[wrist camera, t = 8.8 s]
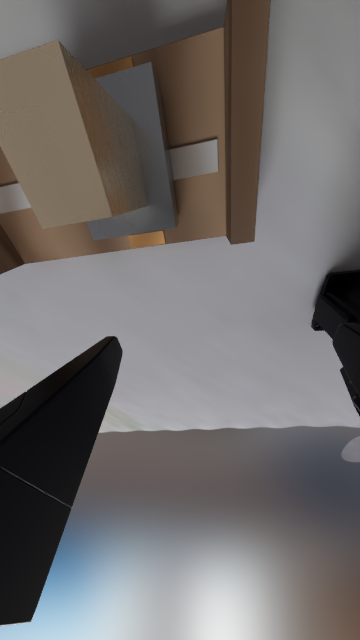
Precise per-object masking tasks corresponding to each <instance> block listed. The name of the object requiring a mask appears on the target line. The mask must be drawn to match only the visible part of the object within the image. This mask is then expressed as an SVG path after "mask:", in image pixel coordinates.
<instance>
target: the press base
mask: <svg viewBox="0 0 360 640" xmlns="http://www.w3.org/2000/svg"><path fill="white" fill-rule="evenodd" d="M270 3H271V0H228V1H227V8H226V14H225V21H224V27H222V28H219V29H215V30H212V31H209V32H206V33H203V34H199V35H196V36H193V37H190V38H186V39H183V40H180V41H177V42H174V43H170V44H167V45H164V46H161V47H158V48H154V49H151V50H148V51H145V52H141V53H138V54H135V55H132V56H129V57H125V58H122V59H119V60H116V61H113V62H109V63H106V64H103V65H100V66H96V67H93V68H90V69H87V71H88V72H89V73H90V74H91V75H92V77H93V78H94V79H95V78H99V77H102V76H105V75H109V74H112V73H115V72H119V71H122V70H125V69H129V68H132V67H135V66H139V65H142V64H145V63H149V62H151V63H152V65H153V68H154V70H155V73H156V76H157V78H158V81H159V83H160V87H161V94H162V102H163V109H164V116H165V124H166V131H167V138H168V146H169V153H170V160H171V168H172V175H173V182H174V190H175V197H176V204H177V212H178V219H179V224H178V225H177V227H176V228H173V229H166V230H160V231H153V232H147V233H140V234H133V235H127V236H120V237H114V238H107V239H101V240H93V238H92V235H91V232H90V230H89V227H88V225H87V222H80V223H74V224H68V225H62V226H57V227H51V228H45V229H42V227H41V225H40V223H39V221H38V219H37V217H36V215H35V213H34V211H33V209H32V207H31V205H30V203H29V202H28V200H27V198H26V196H25V194H24V192H23V190H22V188H21V186H20V184H19V182H18V180H17V178H16V176H15V174H14V172H13V170H12V168H11V166H10V164H9V162H8V160H7V158H6V156H5V154H4V153H3V151H2V149H1V147H0V274H2V273H4V272H7V271H9V270H12V269H14V268H16V267H19V266H21V265H23V264H27V263H34V262H42V261H49V260H56V259H63V258H70V257H77V256H85V255H92V254H99V253H106V252H113V251H120V250H127V249H135V248H142V247H149V246H156V245H163V244H170V243H178V242H185V241H192V240H199V239H206V238H213V237H220V236H226V237H227V238H228V240H229V242H230V244H231V245H232V244H239V243H247V242H254V238H255V223H256V209H257V194H258V179H259V165H260V150H261V135H262V121H263V106H264V91H265V77H266V62H267V47H268V33H269V18H270Z"/></svg>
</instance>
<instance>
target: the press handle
mask: <svg viewBox="0 0 360 640" xmlns="http://www.w3.org/2000/svg"><path fill="white" fill-rule="evenodd" d="M0 147H1V149H2V151H3V153H4V154H5V156H6V158H7V160H8V162H9V164H10V166H11V168H12V170H13V172H14V174H15V176H16V178H17V180H18V182H19V184H20V186H21V188H22V190H23V192H24V194H25V196H26V198H27V200H28V202H29V203H30V205H31V207H32V209H33V211H34V213H35V215H36V217H37V219H38V221H39V223H40V225H41V227H42V229H45V228H51V227H57V226H62V225H68V224H74V223H80V222H87V225H88V227H89V230H90V232H91V235H92V238H93V240H101V239H107V238H114V237H120V236H127V235H133V234H140V233H147V232H153V231H160V230H166V229H173V228H176V227H177V225H178V224H179V219H178V212H177V204H176V197H175V190H174V182H173V175H172V168H171V160H170V153H169V146H168V138H167V131H166V124H165V116H164V109H163V102H162V94H161V87H160V83H159V81H158V78H157V76H156V73H155V70H154V68H153V65H152V63H151V62H149V63H145V64H142V65H139V66H135V67H132V68H129V69H125V70H122V71H119V72H115V73H112V74H109V75H105V76H102V77H99V78H95V79H94V78H93V77H92V75H91V74H90V73H89V72H88V71H87V70H86V69H85V68H84V67H83V66H82V65H81V64H80V63H79V62H78V61H77V60H76V59H75V58H74V57H73V55H72V54H71V53H70V52H69V51H68V50H67V49H66V48H65V47H64V46H63V45H62V44H61V43H60V42H59V41H58V40H56V41H53V42H50V43H47V44H44V45H41V46H39V47H36V48H33V49H30V50H27V51H24V52H21V53H18V54H16V55H13V56H10V57H7V58H4V59H1V60H0Z"/></svg>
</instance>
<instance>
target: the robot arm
mask: <svg viewBox="0 0 360 640" xmlns="http://www.w3.org/2000/svg"><path fill="white" fill-rule="evenodd" d="M333 277H335V278H334V279H333V280H331V279H332V278H333ZM313 318H314V319H313V322H312V325H311V327H312V328H313V329H314V330H315V331H322V330H325V331H326V332H327V333H328V335H329V336H330V337H331V338H332V339H333V346H334V349H335V351H336V353H337V355H338V357H339V359H340V361H341V363H342V365H343V368H341V369H340V372H341V374H342V377H343V379H344V382H345V384H346V386H347V389H348V391H349V394H350V396H351V399H352V401H353V404H354V406H355V408H356V410H357V412H358V414H359V416H360V270H355V271H346V272H336V273H330V274H329V275H328V276H327V277H326V279H325V282H324V285H323V289H322V292H321V295H320V296H319V298H318V302H317V305H316V308H315V312H314V315H313ZM318 325H319V326H318ZM316 326H317V327H316ZM121 358H122V348H121V346H120V343H119V341H118V339H117V337H115V336H108V337H105V338H104V339H102V340H101V341H99V342H98V343H96V344H95V345H94V346H92V347H91V348H89V349H88V350H86V351H85V352H83V353H82V354H80V355H79V356H77V357H76V358H74V359H73V360H71V361H70V362H68V363H67V364H66V365H64V366H63V367H61V368H60V369H58V370H57V371H55V372H54V373H52V374H51V375H49V376H48V377H46V378H45V379H43V380H42V381H40V382H39V383H37V384H36V385H35V386H33V387H32V388H30V389H29V390H27V392H24V393H23V394H21V395H20V396H18V397H17V398H15V399H14V400H12V401H11V402H9V403H8V404H6V405H5V406H3V407H2V408H0V626H6V625H14V624H22V623H29V622H31V620H32V617H33V615H34V612H35V610H36V607H37V604H38V601H39V599H40V596H41V593H42V590H43V587H44V585H45V582H46V579H47V576H48V573H49V571H50V567H51V565H52V562H53V559H54V556H55V554H56V551H57V548H58V545H59V542H60V540H61V537H62V534H63V531H64V528H65V525H66V523H67V520H68V517H69V514H70V511H71V507H72V505H73V502H74V499H75V497H76V494H77V491H78V488H79V485H80V483H81V480H82V477H83V474H84V471H85V468H86V466H87V463H88V460H89V457H90V454H91V452H92V449H93V446H94V443H95V440H96V437H97V434H98V432H99V429H100V426H101V423H102V420H103V418H104V415H105V412H106V409H107V406H108V404H109V401H110V398H111V395H112V392H113V389H114V386H115V383H116V379H117V375H118V371H119V367H120V362H121Z"/></svg>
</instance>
